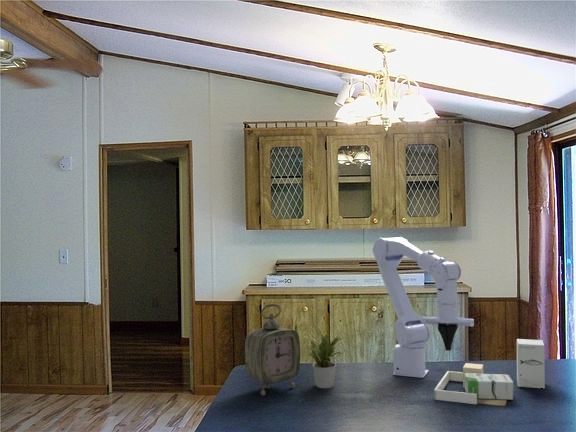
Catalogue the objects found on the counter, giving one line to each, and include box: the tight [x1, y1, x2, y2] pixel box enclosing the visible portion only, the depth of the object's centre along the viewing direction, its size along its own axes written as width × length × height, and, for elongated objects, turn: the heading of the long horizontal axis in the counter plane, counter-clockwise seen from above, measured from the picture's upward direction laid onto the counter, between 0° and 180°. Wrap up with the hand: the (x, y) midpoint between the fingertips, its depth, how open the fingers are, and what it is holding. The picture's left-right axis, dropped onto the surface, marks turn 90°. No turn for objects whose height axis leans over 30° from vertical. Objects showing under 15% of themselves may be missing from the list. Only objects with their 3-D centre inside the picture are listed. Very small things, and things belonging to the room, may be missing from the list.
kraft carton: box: [462, 362, 484, 389], centre depth 176 cm, size 5×5×6 cm
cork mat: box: [477, 399, 508, 407], centre depth 165 cm, size 10×11×1 cm
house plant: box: [304, 330, 348, 389], centre depth 178 cm, size 14×14×16 cm
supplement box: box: [516, 338, 546, 390], centre depth 177 cm, size 7×7×13 cm
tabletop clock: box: [244, 303, 301, 397], centre depth 176 cm, size 14×9×25 cm, turn 130°
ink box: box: [464, 373, 514, 401], centre depth 167 cm, size 9×5×12 cm
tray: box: [433, 370, 478, 405], centre depth 172 cm, size 11×20×3 cm, turn 155°
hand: (448, 349), depth 177 cm, fingers closed
